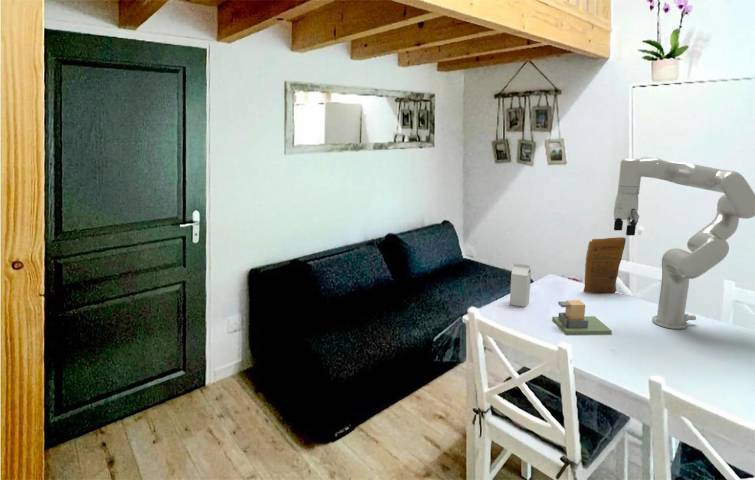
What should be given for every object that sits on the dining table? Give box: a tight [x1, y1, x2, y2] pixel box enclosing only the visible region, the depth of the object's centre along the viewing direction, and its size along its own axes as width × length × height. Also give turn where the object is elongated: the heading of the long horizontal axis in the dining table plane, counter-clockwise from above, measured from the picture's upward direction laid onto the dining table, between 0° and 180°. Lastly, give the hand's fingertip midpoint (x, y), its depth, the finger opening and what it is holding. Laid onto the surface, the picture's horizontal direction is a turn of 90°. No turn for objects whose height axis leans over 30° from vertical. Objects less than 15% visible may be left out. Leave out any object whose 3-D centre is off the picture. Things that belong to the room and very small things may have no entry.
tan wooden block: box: [557, 299, 586, 320], centre depth 195 cm, size 9×6×9 cm, turn 90°
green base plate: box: [551, 312, 613, 336], centre depth 195 cm, size 18×15×4 cm
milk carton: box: [509, 263, 532, 308], centre depth 221 cm, size 7×7×19 cm
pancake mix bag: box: [583, 237, 627, 294], centre depth 234 cm, size 7×19×28 cm, turn 90°
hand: (623, 232), depth 192 cm, fingers open, 9 cm apart
